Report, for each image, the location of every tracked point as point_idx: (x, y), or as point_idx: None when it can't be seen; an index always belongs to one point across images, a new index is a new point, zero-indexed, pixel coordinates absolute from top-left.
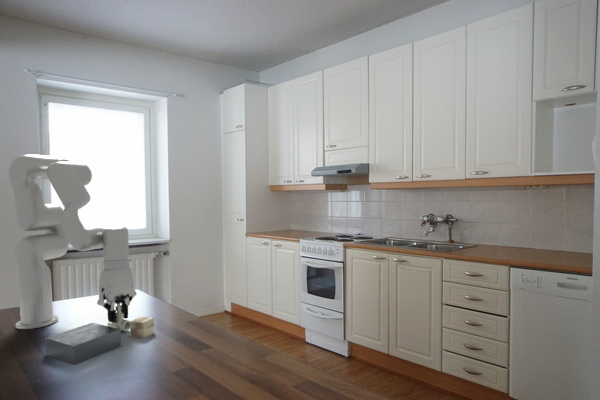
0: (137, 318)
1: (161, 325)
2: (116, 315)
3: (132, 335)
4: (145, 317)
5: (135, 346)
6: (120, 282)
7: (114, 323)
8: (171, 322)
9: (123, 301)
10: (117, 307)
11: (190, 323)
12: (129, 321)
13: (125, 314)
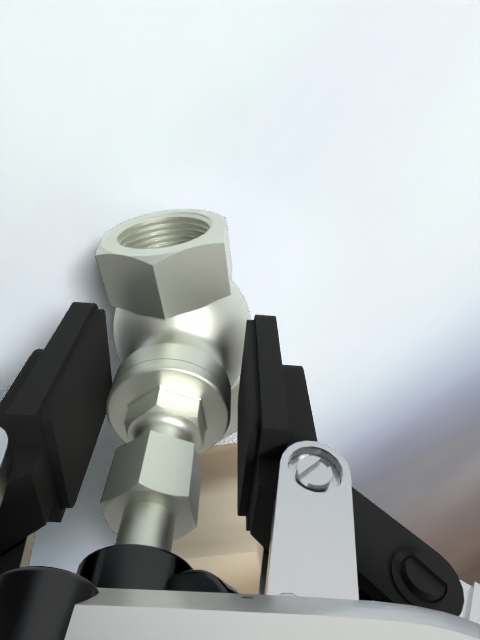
0: (207, 559)
1: (401, 471)
2: (115, 429)
3: None
4: (255, 584)
5: (67, 549)
6: None
7: (118, 349)
8: (473, 486)
9: (303, 524)
10: (114, 520)
11: (462, 567)
12: (227, 431)
13: (238, 430)
